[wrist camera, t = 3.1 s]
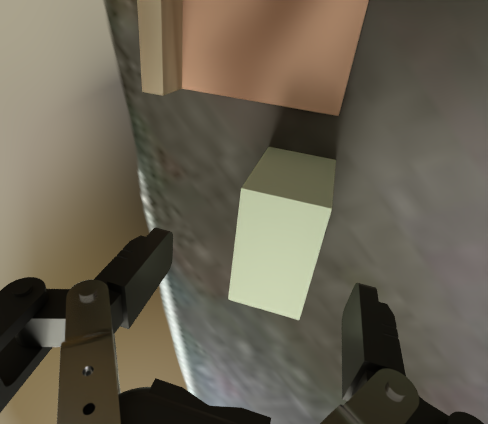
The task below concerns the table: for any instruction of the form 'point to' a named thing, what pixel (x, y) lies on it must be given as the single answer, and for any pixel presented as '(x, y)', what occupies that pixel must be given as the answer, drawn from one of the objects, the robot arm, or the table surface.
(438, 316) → the table surface
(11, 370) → the robot arm
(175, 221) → the table surface
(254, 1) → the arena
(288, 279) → the sage block
